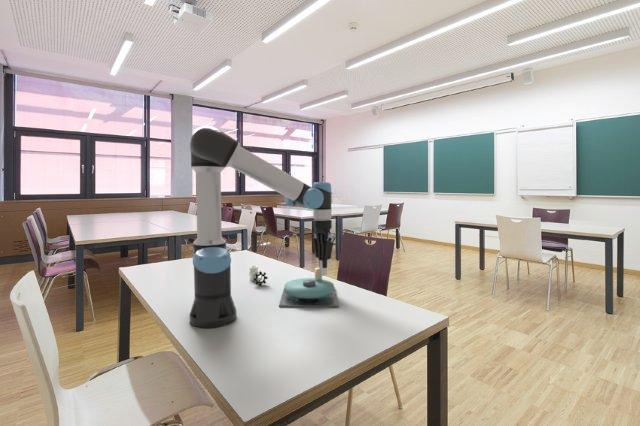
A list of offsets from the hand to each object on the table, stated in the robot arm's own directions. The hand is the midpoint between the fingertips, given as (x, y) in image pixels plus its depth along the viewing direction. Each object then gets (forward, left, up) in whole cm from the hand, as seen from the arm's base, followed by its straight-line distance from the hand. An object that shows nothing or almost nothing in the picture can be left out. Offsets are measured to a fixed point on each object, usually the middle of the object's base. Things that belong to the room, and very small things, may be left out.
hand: (323, 275), depth 141 cm
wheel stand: (-6, +6, -8) cm, 11 cm away
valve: (+14, +31, -8) cm, 35 cm away
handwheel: (-6, +6, -5) cm, 9 cm away
